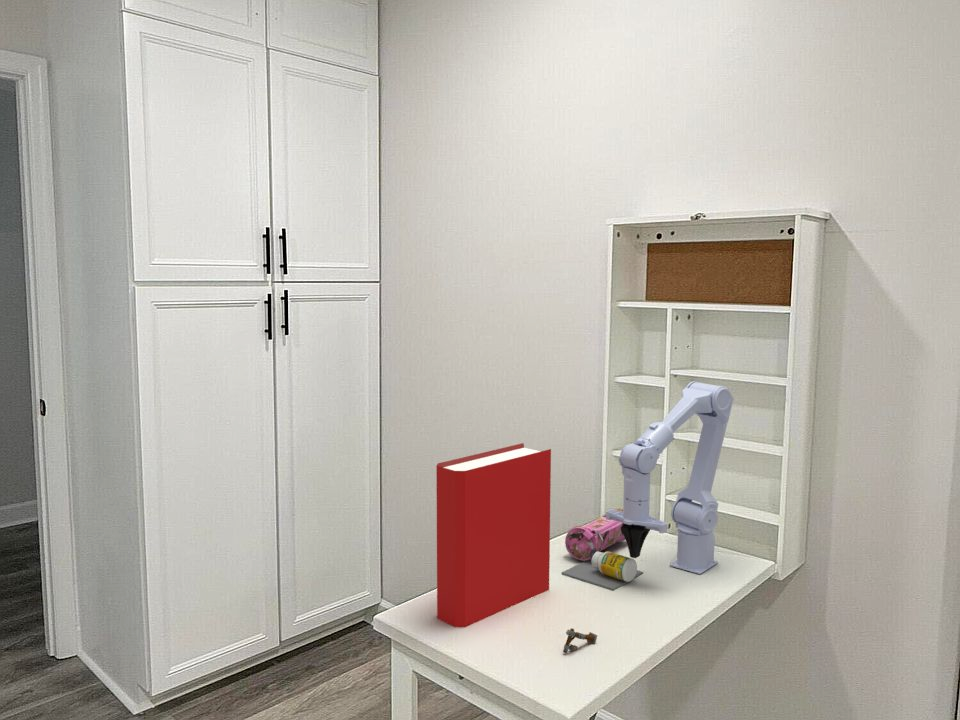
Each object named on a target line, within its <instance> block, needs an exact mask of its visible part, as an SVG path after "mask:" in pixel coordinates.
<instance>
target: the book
mask: <svg viewBox="0 0 960 720" xmlns="http://www.w3.org/2000/svg"><path fill="white" fill-rule="evenodd" d="M551 461H552V449H551V448H549V449H545V450H542V451H540V450H536V449H532V448H527V447H525V445H524V442H522V443H518V444H514V445H509V446H505V447H502V448H497V449H493V450H488V451H485V452H480V453H475V454H473V455H468V456H463V457H459V458H456V459H451V460H448V461H442V462H438V463H437V464H436V619H437V620H439V621H441V622H444V623H446V624H448V625H450V626H452V627H454V628H467V627H469V626H472V625H474V624H476V623H478V622H480V621H482V620H485V619H487V618H489V617H491V616H493V615H496V614H498V613H500V612H503V611H505V610H507V609H509V608H511V606H512V607H514V606H516V605H517V604H520V603H523V602H525V601H527V600H529V599H531V597H532V598H534V597H536V596H538V595H540V594H543V593H544V592H547V591H549V590H550V556H551V555H550V551H551V549H550V547H551V544H550V543H551V542H550V541H551V482H552V481H551V478H552V477H551V476H552V475H551V469H552V467H551V466H552V463H551Z"/></svg>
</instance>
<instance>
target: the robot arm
mask: <svg viewBox="0 0 960 720" xmlns="http://www.w3.org/2000/svg"><path fill="white" fill-rule="evenodd" d="M733 402H734V397H733V394H732V392H731V391H730V389H729V388H728V387H727V386H726V385H716V384H711V383H710V384H709V383H705V382H699V381H695V380H694V381H691V382H689V383H688V384H687V385H686V387H684V388H683V389H682V391H681V397H680V400H679V401H678V402H677V403H676V404H675V406H674V407H673V408H672V409H671V410H670V412H669V413H668V414H667V415H666V416H665V418H664V419H663V420H662V421H660V422H659V421H656V422H653V423H651V424H650V425H649V426H648V428H647V430H645V431H644V432H643V434H641V435H640V436H639V438H637V440H635V442H633V443H628V444H627V445H625V446H624V447H623V448H622V449H621V451H620V455H619V456H618V463H619V465H620V466H621V469H622V472H621V473H622V475H623V503H622V504H623V505H622V506H623V508H622V509H623V511H616V510H613V509H608V510H606V511H605V514H606V519H607V520H615V521H619V522H623V523H624V524H623V526H621V532H622V533H623V535H624V537H625V539H626V540H625V541H626V544H627V549H628V552H629V556H630V557H629V558H632V559H637V558H639V557H640V556H641V552H642V548H643V545H644V543H645V541H646V538H647V536H648V534H649V533H650V532H651V531H656V532H658V533H659V534H665V533H666V532H668V522H665V521H662V520H659V519H657V518H654V517H652V516H650V501H651V500H650V498H651V497H650V496H651V495H650V494H651V491H650V490H651V472H652V471H654V470H655V468H656V466H657V462H658V460H659V458H660V456H661V455H660V454H662V452H664V450H665V449H666V448H667V447H669V445H670V444H671V443H672V442H673V441H674V436H675V435H674V433H675V432H676V431H677V430H678V429H679V428H681V427H682V426H683V424H685V423H686V422H687V421H688V420H689V419H690V418H691V417H694V415H696V416H697V417H698V418H699V419H700V421H701V423H702V427H701V432H700V435H699V440H698V445H697V449H696V453H695V456H694V460H693V464H692V467H691V468H692V469H691V473H690V477H689V480H688V481H689V482H688V486H687V487H686V488H684V489H682V490H680V491H679V492H678V493H677V497H676V500H675V501H674V503H673V504H672V506H671V511H670V517H671V519H672V521H673V522H674V523H675V528H676V529H677V548H676V549H677V551H676V560H674V561H672V562H670V563H669V566H670V567H672V568H673V567H674V568H677V569H680V570H684V571H687V572H690V573H694V574H697V575H698V574H699V575H701V574H703V573H704V572H707V571H708V570H709V569H711V568H712V567H714V566H715V565H717V564H718V560H715V544H716V543H715V541H716V539H715V534H714V532H713V531H714V529H716V526H717V524H718V507H719V503H718V501H717V499H715V497H714V496H713V494H712V488H713V484H714V481H715V477H716V473H717V468H718V463H719V460H720V457H721V456H720V455H721V451H722V449H723V448H722V447H723V444H724V439H725V435H726V430H727V427H728V423H729V419H730V416H731V411H732V406H733V404H734V403H733Z"/></svg>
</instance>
